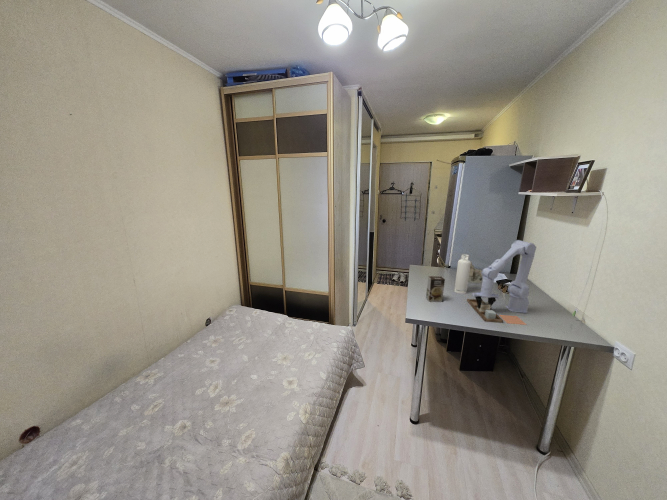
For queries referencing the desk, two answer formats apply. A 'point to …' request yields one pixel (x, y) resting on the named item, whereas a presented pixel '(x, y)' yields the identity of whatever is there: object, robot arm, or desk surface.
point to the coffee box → (435, 289)
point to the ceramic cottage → (475, 275)
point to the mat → (512, 319)
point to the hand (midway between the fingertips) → (483, 308)
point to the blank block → (490, 314)
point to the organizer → (482, 314)
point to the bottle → (462, 274)
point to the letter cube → (484, 306)
